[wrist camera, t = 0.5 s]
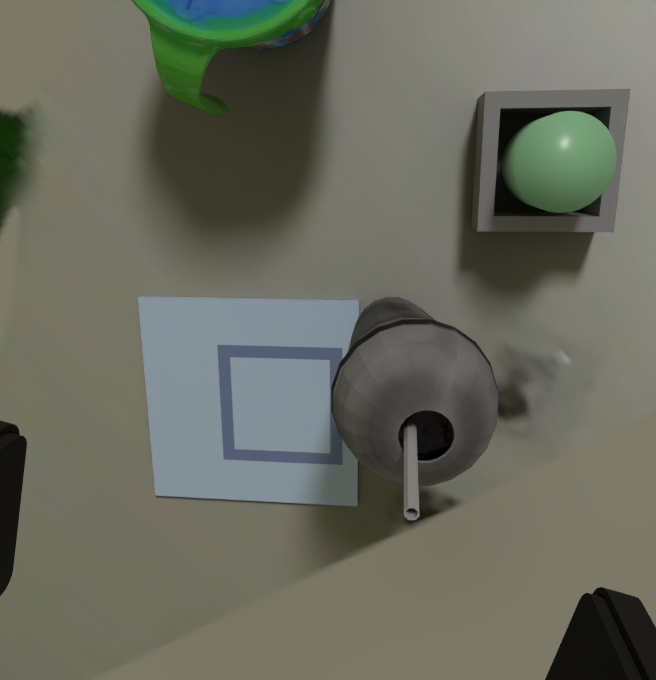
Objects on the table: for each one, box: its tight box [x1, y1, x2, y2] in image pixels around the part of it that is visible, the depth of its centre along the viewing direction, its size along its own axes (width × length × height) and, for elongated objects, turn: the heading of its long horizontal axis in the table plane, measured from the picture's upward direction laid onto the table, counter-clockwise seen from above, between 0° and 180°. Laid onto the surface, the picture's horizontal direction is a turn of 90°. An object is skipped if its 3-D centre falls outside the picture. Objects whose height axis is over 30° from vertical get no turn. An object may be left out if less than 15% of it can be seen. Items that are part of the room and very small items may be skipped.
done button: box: [502, 111, 617, 213], centre depth 31 cm, size 5×5×4 cm
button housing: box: [471, 89, 630, 232], centre depth 34 cm, size 7×7×3 cm
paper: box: [138, 296, 359, 506], centre depth 41 cm, size 14×14×1 cm
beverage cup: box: [331, 298, 498, 520], centre depth 29 cm, size 7×7×20 cm
